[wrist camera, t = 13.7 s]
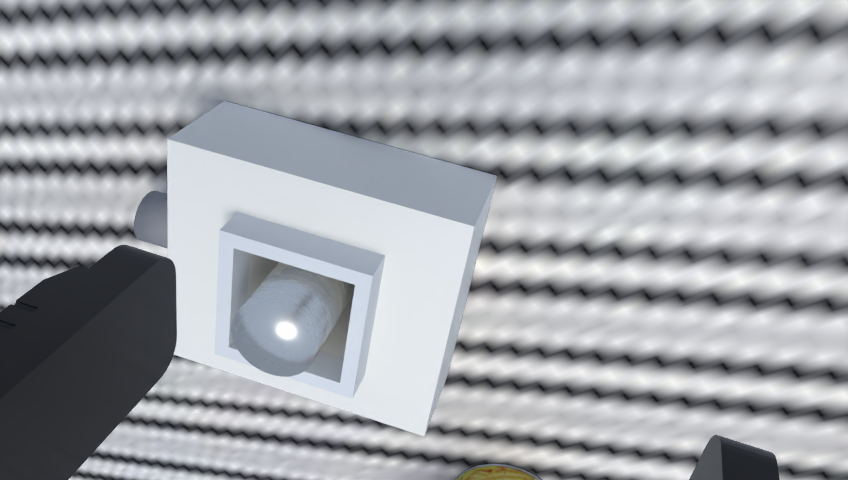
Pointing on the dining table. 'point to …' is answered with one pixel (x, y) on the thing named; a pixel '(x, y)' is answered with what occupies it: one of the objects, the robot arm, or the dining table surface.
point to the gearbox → (322, 252)
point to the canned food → (496, 473)
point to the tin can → (289, 319)
